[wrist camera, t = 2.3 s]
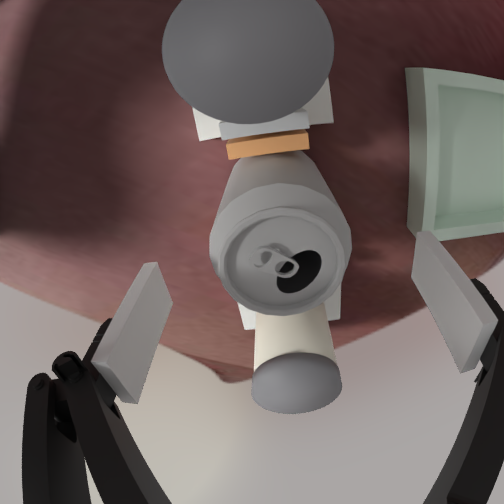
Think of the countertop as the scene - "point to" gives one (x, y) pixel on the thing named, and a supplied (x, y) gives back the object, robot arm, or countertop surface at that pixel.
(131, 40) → the countertop surface
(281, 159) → the can
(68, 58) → the countertop surface
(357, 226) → the countertop surface
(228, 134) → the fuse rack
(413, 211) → the tray
